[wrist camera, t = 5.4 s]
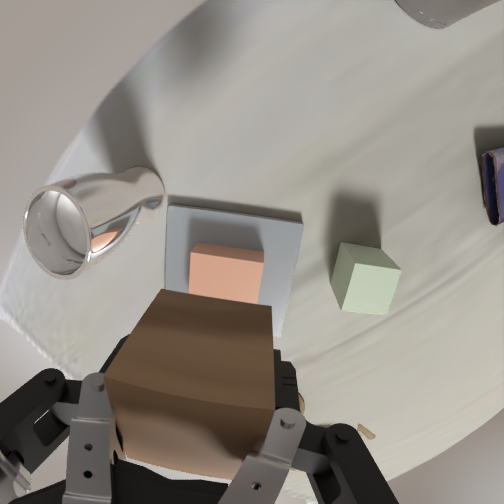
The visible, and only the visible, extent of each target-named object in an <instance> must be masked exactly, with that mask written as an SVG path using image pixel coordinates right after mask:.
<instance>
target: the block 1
mask: <svg viewBox="0 0 504 504" xmlns="http://www.w3.org/2000/svg"><path fill="white" fill-rule="evenodd" d="M103 378H104V382H105V386H106V390H107V394H108V398H109V401H110V404H112V405H113V406H114V409H115V413H116V421H115V422H116V425H117V428H118V431H119V435H120V436H121V437H123V439H124V442H125V452H126V455H127V457H128V458H131V459H134V460H138V461H142V462H145V463H149V464H152V465H156V466H160V467H164V468H168V469H173V470H177V471H181V472H186V473H191V474H197V475H202V476H209V477H216V478H223V479H230V480H233V478H234V477H235V475H236V473H237V472H238V470H239V468H240V467H241V465H242V463H243V462H244V460H245V458H246V456H247V455H248V453H249V452H250V451H252V450H253V448H254V446H255V444H256V443H257V441H258V439H259V437H260V435H267V434H268V431H269V428H270V425H271V422H272V418H273V415H274V412H275V383H274V352H273V326H272V306H268V305H261V304H253V303H246V302H240V301H233V300H226V299H220V298H213V297H207V296H201V295H195V294H189V293H183V292H177V291H172V290H166V289H161V290H160V292H159V293H158V294H157V296H156V297H155V299H154V300H153V302H152V303H151V304H150V306H149V307H148V309H147V310H146V312H145V313H144V315H143V316H142V317H141V319H140V320H139V322H138V323H137V325H136V326H135V328H134V329H133V331H132V332H131V334H130V335H129V337H128V338H127V340H126V341H125V343H124V344H123V346H122V347H121V349H120V350H119V352H118V353H117V355H116V356H115V358H114V360H113V361H112V363H111V364H110V366H109V367H108V369H107V370H106V372H105V374H104V375H103Z"/></svg>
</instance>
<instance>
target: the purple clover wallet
mask: <svg viewBox="0 0 504 504" xmlns="http://www.w3.org/2000/svg"><path fill="white" fill-rule="evenodd" d="M481 166H482V178H483V185H484V188H483V191H484V199H485V205H486V211H487V215H488V218H489V221H490V222H491V224H492V225H496V227H497V225H498V224H500V223H503V222H504V147H502V148H498V149H495V150H491V151H486V152H485V153H484V154H483V155H482V161H481Z"/></svg>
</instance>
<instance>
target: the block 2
mask: <svg viewBox="0 0 504 504" xmlns="http://www.w3.org/2000/svg"><path fill="white" fill-rule="evenodd" d="M401 272H402V270H401V269H400V268H399V267H398V266H397V264H396V263H395V262H394V261H393V260H392V259H391V258H390V257H389V256H388V255H387V254H386V253H385V252H384V251H383V250H382V249H379V248H373V247H367V246H361V245H355V244H349V243H343V242H340V247H339V251H338V255H337V259H336V263H335V267H334V271H333V275H332V278H331V282H330V284H331V287H332V289H333V292H334V294H335V297H336V299H337V302H338V304H339V307H340V309H341V311H347V312H357V313H367V314H378V315H386V314H387V312H388V309H389V306H390V303H391V301H392V298H393V295H394V292H395V290H396V287H397V284H398V281H399V278H400V275H401Z"/></svg>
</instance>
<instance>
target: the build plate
mask: <svg viewBox="0 0 504 504" xmlns="http://www.w3.org/2000/svg"><path fill="white" fill-rule="evenodd" d="M303 227H304V224H303V222H299V221H293V220H286V219H280V218H273V217H266V216H260V215H253V214H246V213H239V212H231V211H224V210H217V209H209V208H201V207H193V206H185V205H177V204H170V205H168V214H167V234H166V267H165V289H166V290H172V291H177V292H183V293H189V294H195V295H201V296H207V297H213V298H220V299H226V300H233V301H240V302H246V303H253V304H261V305H268V306H272V326H273V337H278V338H280V335H281V331H282V326H283V322H284V318H285V313H286V309H287V304H288V300H289V295H290V291H291V286H292V281H293V277H294V272H295V267H296V262H297V257H298V252H299V247H300V242H301V237H302V232H303Z"/></svg>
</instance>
